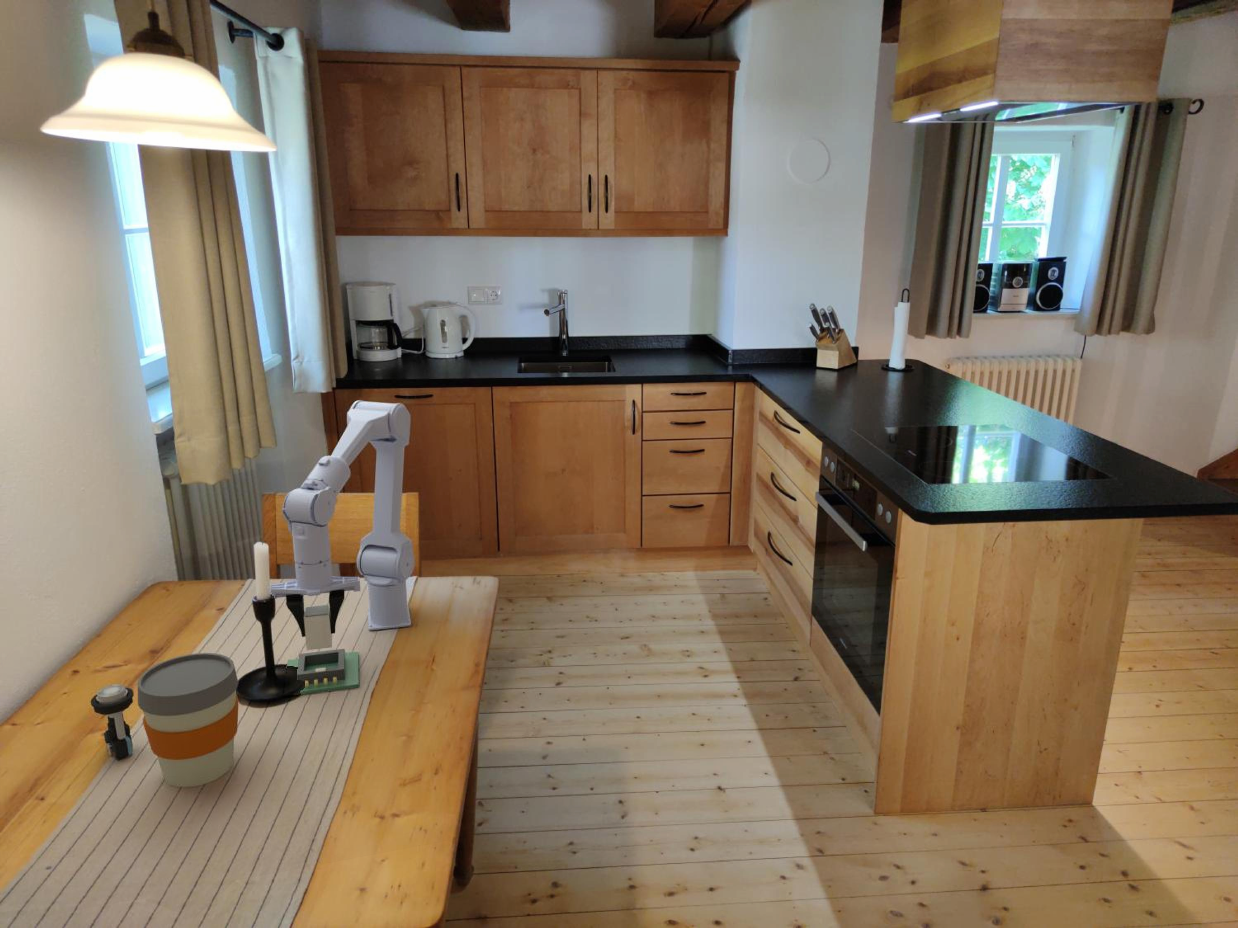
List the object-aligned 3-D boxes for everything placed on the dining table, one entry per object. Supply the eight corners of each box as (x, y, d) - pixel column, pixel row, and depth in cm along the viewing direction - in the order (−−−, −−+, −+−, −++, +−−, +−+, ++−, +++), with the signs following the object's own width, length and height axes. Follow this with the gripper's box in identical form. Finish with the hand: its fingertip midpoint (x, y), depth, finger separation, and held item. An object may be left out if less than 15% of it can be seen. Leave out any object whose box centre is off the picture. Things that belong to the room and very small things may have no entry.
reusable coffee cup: (197, 804, 112) (184, 705, 108) (128, 782, 116) (113, 686, 113) (266, 752, 124) (256, 661, 120) (200, 735, 128) (188, 645, 124)
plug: (307, 639, 145) (305, 606, 144) (332, 636, 146) (329, 604, 145) (306, 650, 141) (303, 617, 140) (331, 648, 142) (329, 614, 141)
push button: (91, 747, 124) (81, 687, 122) (130, 732, 128) (121, 674, 125) (107, 766, 120) (96, 704, 117) (147, 750, 124) (138, 690, 121)
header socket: (288, 662, 150) (286, 648, 149) (358, 654, 153) (357, 640, 152) (283, 697, 139) (281, 681, 138) (358, 687, 142) (357, 672, 141)
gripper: (263, 571, 134) (271, 648, 138) (358, 562, 139) (363, 637, 142) (267, 555, 141) (275, 629, 144) (357, 548, 145) (362, 620, 149)
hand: (318, 632), depth 144 cm, fingers closed on plug, 4 cm apart
